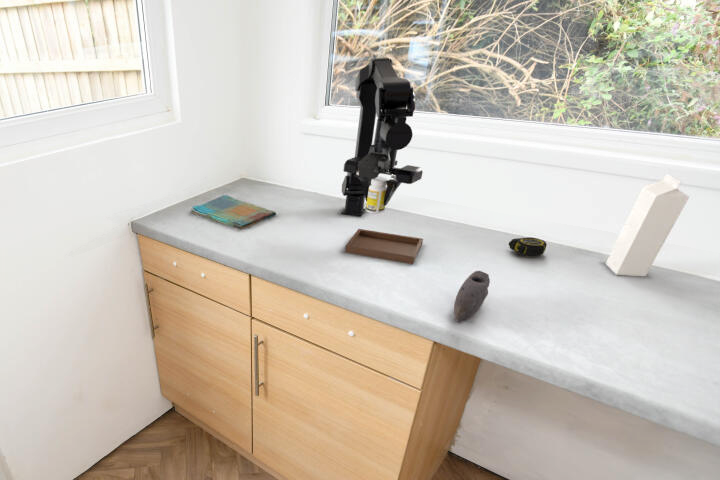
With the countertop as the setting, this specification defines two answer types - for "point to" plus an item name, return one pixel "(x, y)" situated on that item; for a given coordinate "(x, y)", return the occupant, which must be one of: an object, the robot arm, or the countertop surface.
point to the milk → (647, 227)
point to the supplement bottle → (376, 195)
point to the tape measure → (528, 246)
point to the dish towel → (232, 212)
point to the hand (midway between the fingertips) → (376, 203)
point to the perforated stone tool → (471, 295)
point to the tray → (384, 246)
